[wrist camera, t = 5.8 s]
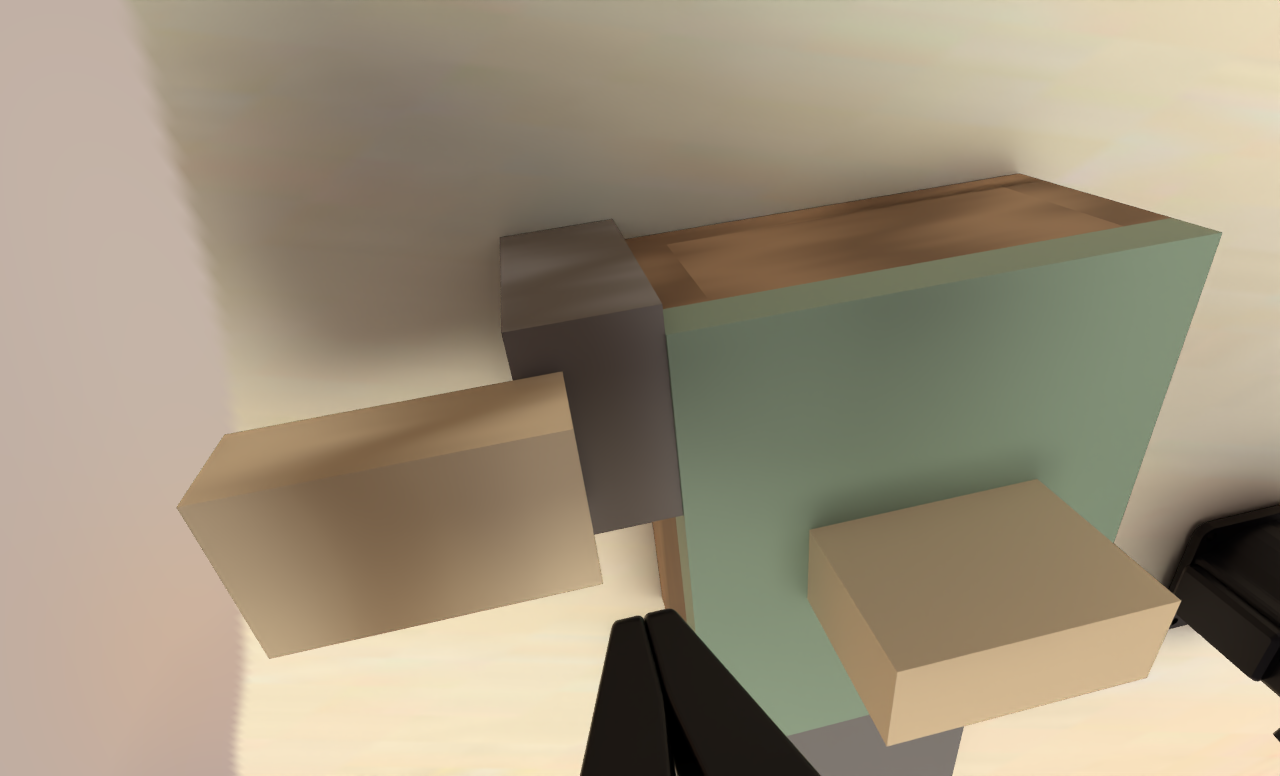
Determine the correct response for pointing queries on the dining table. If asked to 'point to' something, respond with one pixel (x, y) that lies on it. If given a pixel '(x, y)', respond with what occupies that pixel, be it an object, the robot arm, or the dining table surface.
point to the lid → (930, 478)
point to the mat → (876, 751)
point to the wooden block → (397, 514)
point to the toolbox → (715, 269)
